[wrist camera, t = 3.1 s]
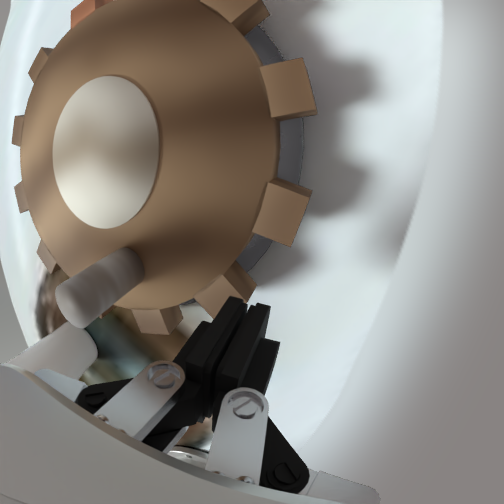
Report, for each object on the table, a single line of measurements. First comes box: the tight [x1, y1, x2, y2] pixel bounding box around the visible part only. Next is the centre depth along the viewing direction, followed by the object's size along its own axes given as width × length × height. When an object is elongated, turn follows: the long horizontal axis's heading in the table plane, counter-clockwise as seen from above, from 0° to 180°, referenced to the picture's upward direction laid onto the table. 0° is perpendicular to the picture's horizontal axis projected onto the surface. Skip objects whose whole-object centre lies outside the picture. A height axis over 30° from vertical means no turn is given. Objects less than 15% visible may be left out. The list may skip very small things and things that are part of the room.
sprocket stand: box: [179, 0, 304, 305], centre depth 15 cm, size 24×22×4 cm
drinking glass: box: [6, 321, 98, 380], centre depth 20 cm, size 7×7×15 cm
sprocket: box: [12, 0, 318, 335], centre depth 12 cm, size 24×24×7 cm
